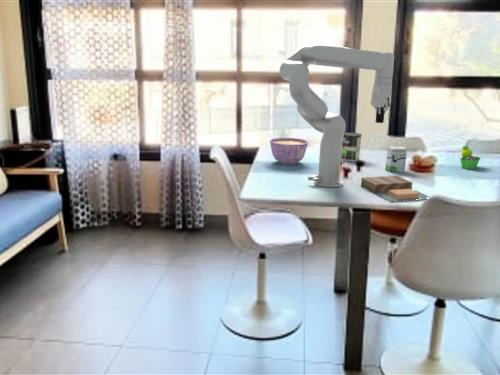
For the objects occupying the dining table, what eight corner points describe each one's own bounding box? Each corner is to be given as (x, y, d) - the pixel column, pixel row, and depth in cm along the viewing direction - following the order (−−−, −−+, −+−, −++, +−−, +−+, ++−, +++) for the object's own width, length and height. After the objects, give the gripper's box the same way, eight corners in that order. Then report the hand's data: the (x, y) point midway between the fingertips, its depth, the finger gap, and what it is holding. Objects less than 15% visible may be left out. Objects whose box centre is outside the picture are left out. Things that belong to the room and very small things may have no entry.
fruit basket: (473, 170, 267) (477, 149, 264) (456, 167, 272) (459, 146, 269) (479, 166, 275) (482, 145, 272) (462, 164, 281) (465, 143, 278)
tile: (388, 190, 218) (388, 194, 218) (397, 194, 211) (397, 199, 212) (409, 188, 220) (408, 193, 221) (418, 193, 214) (418, 197, 215)
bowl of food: (308, 167, 263) (310, 145, 260) (269, 166, 264) (270, 144, 261) (305, 159, 283) (306, 138, 280) (268, 158, 283) (269, 137, 280)
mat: (390, 202, 209) (390, 201, 209) (375, 193, 220) (375, 193, 220) (432, 199, 215) (433, 198, 214) (416, 191, 226) (416, 190, 225)
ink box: (389, 171, 259) (391, 148, 256) (384, 169, 264) (387, 146, 261) (405, 171, 261) (407, 148, 258) (400, 169, 266) (403, 146, 263)
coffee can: (347, 162, 279) (349, 136, 275) (336, 158, 288) (338, 132, 284) (363, 160, 283) (365, 135, 279) (352, 156, 292) (354, 131, 288)
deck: (374, 193, 220) (375, 184, 219) (360, 186, 232) (361, 177, 230) (411, 191, 225) (412, 182, 224) (396, 184, 237) (397, 175, 235)
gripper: (367, 79, 235) (363, 120, 240) (384, 82, 222) (380, 125, 227) (382, 80, 238) (378, 120, 242) (399, 82, 224) (395, 125, 229)
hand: (379, 122), depth 235 cm, fingers closed
